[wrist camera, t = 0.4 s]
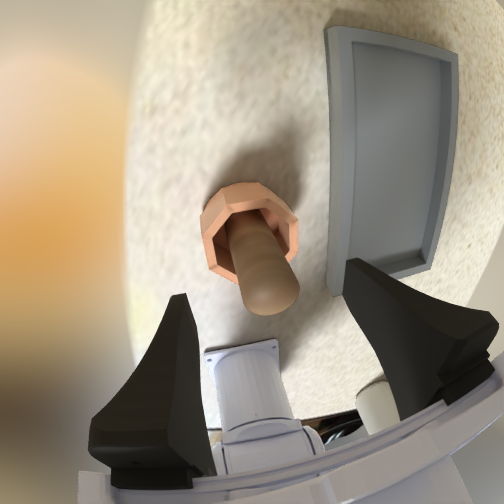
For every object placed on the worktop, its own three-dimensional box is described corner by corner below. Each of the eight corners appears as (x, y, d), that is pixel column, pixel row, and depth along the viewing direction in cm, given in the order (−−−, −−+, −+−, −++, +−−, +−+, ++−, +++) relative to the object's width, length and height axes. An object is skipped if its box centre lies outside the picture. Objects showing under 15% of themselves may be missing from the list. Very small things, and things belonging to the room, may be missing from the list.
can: (394, 381, 45) (422, 431, 35) (363, 403, 47) (386, 453, 37) (380, 374, 42) (411, 431, 32) (345, 399, 44) (370, 456, 34)
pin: (265, 237, 22) (299, 308, 16) (227, 244, 22) (246, 320, 16) (263, 202, 21) (299, 265, 14) (221, 209, 20) (239, 277, 14)
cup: (284, 248, 24) (298, 273, 21) (209, 262, 23) (213, 290, 20) (281, 176, 21) (297, 193, 18) (195, 189, 20) (196, 210, 17)
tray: (420, 259, 28) (430, 269, 27) (325, 283, 27) (333, 297, 25) (441, 52, 16) (457, 54, 15) (323, 29, 15) (336, 25, 13)
